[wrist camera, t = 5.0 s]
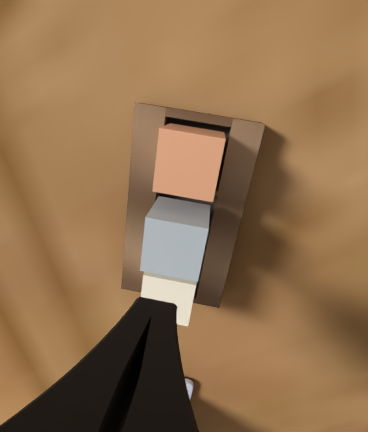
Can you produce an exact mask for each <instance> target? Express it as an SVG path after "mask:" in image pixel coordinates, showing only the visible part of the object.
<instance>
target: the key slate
mask: <svg viewBox="0 0 368 432" xmlns="http://www.w3.org/2000/svg"><path fill="white" fill-rule="evenodd" d="M209 218H210V205H206V204H200V203H194V202H189V201H183V200H178V199H172V198H167V197H161V196H159V197H158V198H157V200H156V201H155V203H154V205H153V206H152V208H151V209H150V211H149V212H148V214H147V216H146V217H145V226H144V236H143V245H142V255H141V265H140V271H144V272H149V273H154V274H159V275H165V276H170V277H175V278H180V279H185V280H190V281H196V282H198V279H199V274H200V269H201V264H202V259H203V254H204V249H205V245H206V240H207V235H208V230H209Z"/></svg>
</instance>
